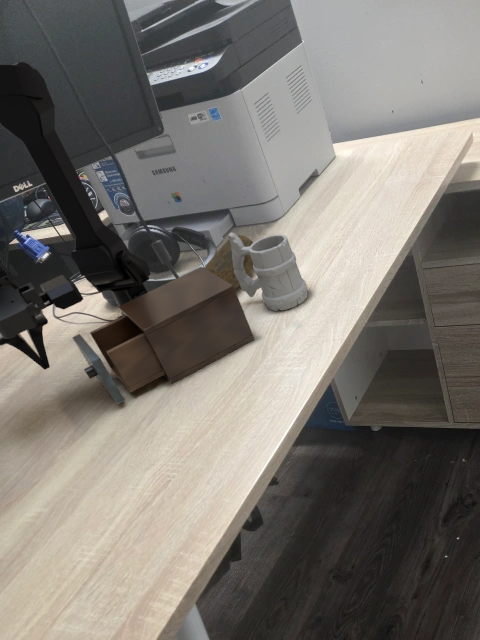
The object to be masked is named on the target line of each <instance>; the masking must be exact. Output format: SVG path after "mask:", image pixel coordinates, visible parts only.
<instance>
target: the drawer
mask: <svg viewBox="0 0 480 640" xmlns="http://www.w3.org/2000/svg"><path fill="white" fill-rule="evenodd" d="M119 317H120V316H119ZM89 335H90V336H91V338H92V339H93V341H94V343H95V345H96V346H97V348H98V350H99V352H100V353H101V355H102V357H103V358H104V360H105V362H106V363H107V365H108V367H109V369H110V370H111V372H112V373H113V374H114V375H115V376H116V377H117V378H118V379H119V381H120V382H121V384H123V386H124V387H125V388H126V389H127V390H128V391H129V393H133V392H135V391H137V390H138V389H140V388H142V387H144V386H146V385H148V384H150V383H151V382H153V381H155V380H157V379H159V378H161V377H164V376H163V375H165V372H164V370H163V368H162V366H161V364H160V362H159V360H158V358H157V357H156V355H155V353H154V351H153V349H152V347H151V345H150V343H149V341H148V339H147V338H146V336H145V333H143V332H142V331H141V330H140V329H139V328H138V327H137V326H136V325H135V324H134V323H133V322H132V321H130V320H129V319H128V318H127V317H126V316H125V315H124V316H122V317H120V318H118V317H117V318H116V319H114V320H112V321H110V322H107V323H106V324H104V325H102V326H100V327H98V328H96V329H94V330H91V331H90V332H89ZM72 340H73V341H74V343H75V345H76V346H77V348H78V349H79V351H80V353H81V354H82V356H83V358H84V359H85V361H86V363H87V364H88V367H84V369H83V371H84V372H85V374H86V375H87V377H88V378H89V379H90V380H92V379H94V378H95V377H96V379H97V380H98V381H99V383H100V384H101V385H102V386H103V388H104V389H105V391H106V392H107V393H108V394H109V395H110V397H111V398H112V399H113V401H114V402H115V403H116V404H117V405H119V404H121V403H123V402H125V401H126V400H125V398H124V396H123V394H122V393H121V391H120V389H119V387H118V386H117V384H116V383H115V381H114V379H113V377H112V376H111V374H110V372H109V371H108V369H107V367H106V366H105V364H104V363H103V361H102V359H101V358H100V356H99V355H98V354H97V353H96V352H95V350H94V349H93V348H92V347H91V346H90V344H89V342H87V341H86V340H85V338H84V337H83V336H82V335H81V334H80V333H78V334H76V335H74V336H72Z"/></svg>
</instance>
